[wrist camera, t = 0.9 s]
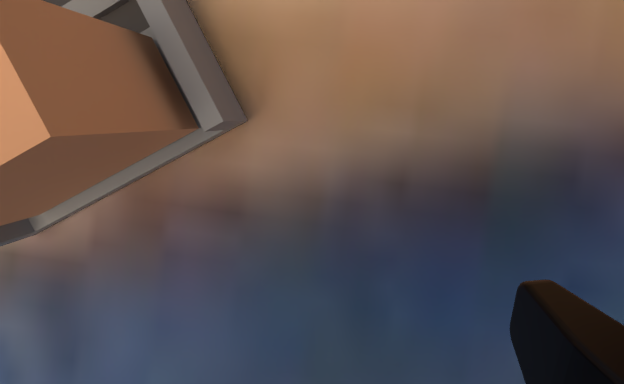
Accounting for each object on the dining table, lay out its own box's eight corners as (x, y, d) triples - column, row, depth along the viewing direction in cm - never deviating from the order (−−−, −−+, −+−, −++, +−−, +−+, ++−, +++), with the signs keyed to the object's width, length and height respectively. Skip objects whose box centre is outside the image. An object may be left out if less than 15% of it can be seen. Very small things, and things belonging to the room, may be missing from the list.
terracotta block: (198, 128, 22) (50, 136, 13) (39, 215, 24) (-207, 283, 14) (151, 37, 22) (-37, -27, 12) (-7, 130, 24) (-289, 139, 14)
